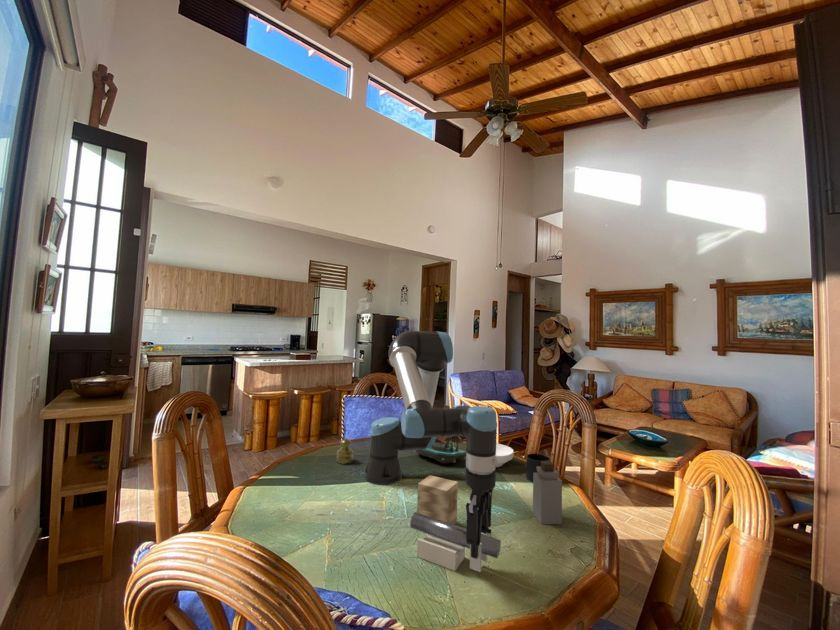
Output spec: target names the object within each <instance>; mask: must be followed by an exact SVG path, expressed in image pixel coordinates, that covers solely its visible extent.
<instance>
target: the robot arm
mask: <svg viewBox="0 0 840 630" xmlns="http://www.w3.org/2000/svg"><path fill="white" fill-rule="evenodd" d="M453 359H454V346H453V341H452V338H451V336H450V335H449V334H448V333H447V332H444V331H436V330H435V331H425V330H422V331H421V330H407V331H404V332H401V333H400V334H398V335H397V336H395V338H394V339H393V340H392V342H391V343H390V345H389V348H388V361H389V363H390V366H391V367H393V368H394V372H395V375H396V378H397V382H398V383H397V384H398V386H399V391H400V393H401V397H402V401H403V405H404V408H405V409H404V410H403V411H402V413H401V419H399V417H395V416H394V417H392V416H389V417H388V416H387V417H381V418H379V419H375V420H373V422H372V423H371V425H370V433H369V434H370V439H369V440H370V441H369V443H370V444H369V457H368V461H367V465H366V466H365V469H364V479H365V481H367V482H369V483H371V484H375V485H390V484H394V483H397V482H400V480H401V479H402V477H403V476H402V473H403V472H402V467H401V464H400V461H399V451H415V450H423V449H429V448H431V447H432V446H433V444H434V442H435V438H436V439H437V438H438V437H440V438H442V437H445V438H446V437H450V436H462V437H463V438H465V439H466V449H465V450H466V451H465V452H466V457H465V467H466V469H465V485H467V487H469V488H470V489H471V493H470V495H469V496H470V497H469V500H470V503H468V502H466V505H465V511H466V529H467V539H466V541H467V543H468V544H470V549H469V569H471V570H474V571H476V572H479V573H481V572H482V562H486V563H487V562H488V555H486V554H483V553H482V543H480V538H481V534H484V535H487V536H489V535H491V534H492V529H490V528H491V525H492V506H493V505H492V500H493V490H494V488H495V487H496V475H497V473H496V471H495V470H496V468H497V467H496V463H497V462H498V460H497V459H496V444H497V434H498V433H497V432H498V431H497V430H498V422H497V411H496V410H495V409H494V408H492V407H487V406H483V405H478V406H477V405H475V406H471V407H469V406H466V405H461V404H460V405H459V404H458V405H455V406H453V407H450V408H448V407H446V408H433V407H434V402H435V397H436V392H437V386H438V383H439V382H438V381H439V376H440V372H443V370H444V369H445V367H446V364H449V363H451V362H452V361H453Z"/></svg>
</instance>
